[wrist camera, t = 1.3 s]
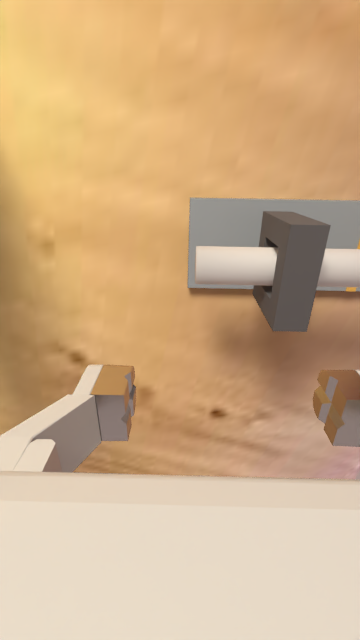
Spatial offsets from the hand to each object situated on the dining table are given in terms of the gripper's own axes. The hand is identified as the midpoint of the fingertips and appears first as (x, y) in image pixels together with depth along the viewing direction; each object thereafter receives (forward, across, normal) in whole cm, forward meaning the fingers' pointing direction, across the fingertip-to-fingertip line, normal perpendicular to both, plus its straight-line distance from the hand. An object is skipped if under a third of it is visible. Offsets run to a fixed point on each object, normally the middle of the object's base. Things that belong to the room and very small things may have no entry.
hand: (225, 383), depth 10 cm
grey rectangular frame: (+19, -6, 0) cm, 20 cm away
